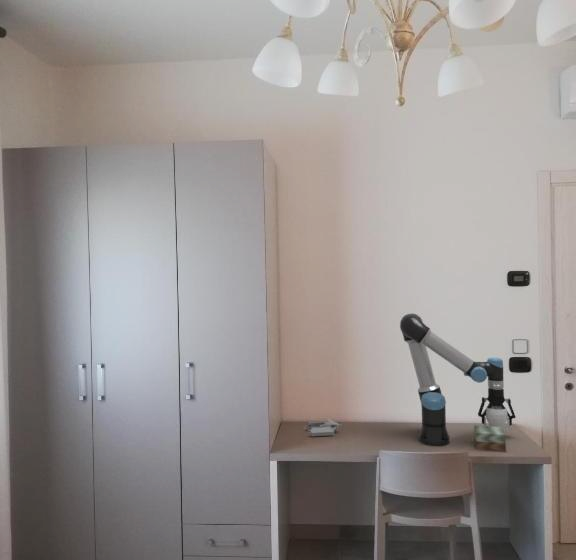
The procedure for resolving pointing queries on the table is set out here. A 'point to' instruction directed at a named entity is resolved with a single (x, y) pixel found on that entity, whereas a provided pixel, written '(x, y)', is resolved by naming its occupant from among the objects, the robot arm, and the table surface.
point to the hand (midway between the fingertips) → (496, 430)
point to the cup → (496, 416)
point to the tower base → (490, 446)
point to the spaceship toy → (322, 428)
